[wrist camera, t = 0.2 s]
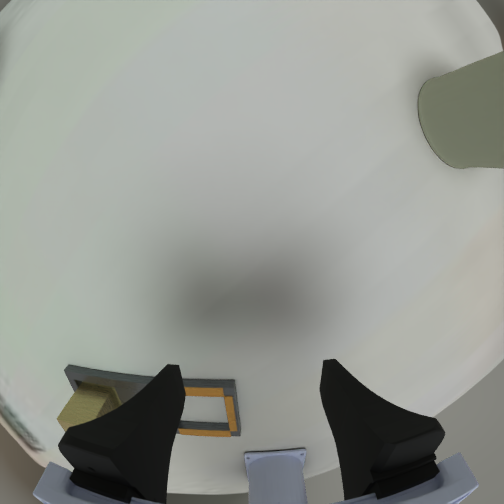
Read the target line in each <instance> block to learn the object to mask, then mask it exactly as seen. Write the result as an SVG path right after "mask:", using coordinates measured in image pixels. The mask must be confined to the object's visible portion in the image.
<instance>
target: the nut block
mask: <svg viewBox="0 0 504 504" xmlns="http://www.w3.org/2000/svg"><path fill="white" fill-rule="evenodd" d="M121 405H122V403H121V401H120V399H119V397H118V395H117V392H116V390H115V388H114V387H110V386H104V385H99V384H94V383H89V382H84V381H83V382H82V383H81V384H80V386H79V387H78V389H77V390H76V391H75V393H74V394H73V396H72V397H71V398H70V400H69V401H68V403H67V404H66V406H65V407H64V409H63V410H62V412H61V413H60V415H59V416H58V418H57V420H58V422H59V423H60V425H61V426H62V428H63V429H64V430H65V432H66V431H67V429H68V428H69V427H72V426H75V425H79V424H82V423H86V422H88V421H91V420H94V419H96V418H98V417H101V416H103V415H105V414H107V413H109V412H110V411H112V410H114V409H116V408H118V407H119V406H121Z"/></svg>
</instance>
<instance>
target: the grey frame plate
mask: <svg viewBox="0 0 504 504" xmlns="http://www.w3.org/2000/svg"><path fill="white" fill-rule="evenodd" d="M64 371H65V374H66V376H67V378H68V380H69V382H70V384H71V386H72V388H73V390H74V392H75V391H76V390H77V389H78V387H79V386H80V384H81V383H82V381H84V382H89V383H94V384H99V385H104V386H110V387H114V388H115V390H116V392H117V395H118V397H119V399H120V401H121V403H122V404H124V403H125V402H127V401H128V400H129V399H131V398H132V397H133V396H135V395H136V394H137V393H138V392H139V391H140V390H142V389H143V388H144V387H145V386H146V385H147V384H148V383H149V382H150V381H151V380H152V379H153V378H154V377H148V376H138V375H129V374H121V373H114V372H107V371H100V370H94V369H89V368H83V367H78V366H73V365H68V366H67V367H66V368H65V369H64ZM182 380H183V384H184V388H185V392H186V396H208V397H224V400H225V406H226V411H227V417H228V423H207V422H189V421H180V422H179V426H178V429H177V432H176V433H178V434H182V435H195V436H214V437H231V436H241V427H240V419H239V412H238V404H237V396H236V388H235V380H197V379H182Z"/></svg>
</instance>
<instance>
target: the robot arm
mask: <svg viewBox="0 0 504 504" xmlns="http://www.w3.org/2000/svg"><path fill="white" fill-rule="evenodd" d="M320 394H321V399H322V404H323V408H324V410H325V413H326V416H327V419H328V422H329V425H330V428H331V430H332V433H333V436H334V439H335V443H336V447H337V452H338V457H339V462H340V468H341V474H342V482H343V490H344V500H345V501H341V502H336V503H331V504H458V503H460V502H461V501H462V500H463V499H464V498H466V497H467V496H468V495H469V494H470V493H471V492H473V491H474V490H475V489H476V488H477V487H478V486H479V483H478V482H477V480H476V478H475V476H474V475H473V473H472V471H471V469H470V468H469V466H468V464H467V463H466V461H465V459H464V458H463V456H462V454H461V453H460V452H458V453H456V454H454V455H453V456H451V457H449V458H447V459H445V460H443V461H442V462H440V463H438V464H437V465H436V463H435V461H434V460H436V456H435V454H434V452H435V450H436V449H437V448H438V446H439V445H440V443H441V442H442V440H443V438H444V436H445V431H444V430H443V428H442V426H441V425H440V423H439V422H438V421H437V419H436V418H432V417H428V416H424V415H420V414H416V413H413V412H411V411H408V410H405V409H403V408H400V407H398V406H396V405H394V404H392V403H390V402H388V401H386V400H385V399H383V398H381V397H380V396H378V395H376V394H375V393H373V392H372V391H371V390H369V389H368V388H367V387H365V386H364V385H363V384H362V383H360V382H359V381H358V380H357V379H356V378H355V377H354V376H352V375H351V374H350V373H349V372H348V371H347V370H346V369H345V368H344V367H343V366H342V365H341V364H340V363H339V362H338V361H337V360H336V359H330V360H323V368H322V375H321V382H320ZM185 396H186V392H185V388H184V384H183V380H182V376H181V372H180V368H179V365H171V364H167V365H166V366H165V367H164V368H163V369H162V370H161V371H160V372H159V373H158V374H157V375H156V376H155V377H154V378H153V379H152V380H151V381H150V382H149V383H148V384H147V385H146V386H145V387H144V388H143V389H142V390H140V391H139V392H138V393H137V394H136V395H135V396H133V397H132V398H131V399H129V400H128V401H127V402H125V403H124V404H122V405H121V406H119V407H118V408H116V409H114V410H112V411H110V412H109V413H107V414H105V415H103V416H101V417H98V418H96V419H94V420H91V421H88V422H86V423H82V424H79V425H75V426H72V427H69V428H68V429H67V431H66V432H65V434H64V436H63V437H62V439H61V441H60V442H59V444H58V447H59V450H60V452H61V453H62V455H63V456H64V457H65V458H66V459H67V460H68V462H69V463H70V464H71V465H72V466H73V467H74V470H73V472H71V471H69V470H68V469H66V468H64V467H62V466H59V465H57V464H55V463H53V462H49V464H48V466H47V467H46V469H45V471H44V473H43V475H42V477H41V479H40V480H39V482H38V484H37V486H36V488H35V490H34V492H33V495H34V496H35V497H36V498H38V499H39V500H40V501H41V502H43V503H44V504H166V496H167V482H168V472H169V464H170V457H171V451H172V446H173V442H174V439H175V435H176V432H177V429H178V426H179V422H180V419H181V416H182V413H183V409H184V403H185ZM305 457H306V449H296V450H286V451H273V452H250V453H245V454H244V458H245V464H246V471H247V477H248V482H249V504H308V502H307V496H306V489H305V483H304V476H303V467H304V462H305Z"/></svg>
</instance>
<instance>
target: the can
mask: <svg viewBox="0 0 504 504" xmlns="http://www.w3.org/2000/svg"><path fill="white" fill-rule="evenodd" d="M418 112H419V118H420V123H421V126H422V129H423V132H424V134H425V137H426V139H427V141H428V143H429V144H430V146H431V148H432V149H433V151H434V152H435V153H436V154H437V156H438V157H439V158H440V159H441V160H443V161H444V162H445V163H446V164H448V165H450V166H452V167H454V168H459V169H464V168H468V167H485V168H503V169H504V51H502V52H500V53H497V54H495V55H492V56H490V57H487V58H484V59H482V60H479V61H477V62H474V63H472V64H469V65H467V66H465V67H462V68H460V69H458V70H455V71H453V72H450V73H448V74H445V75H443V76H440V77H436V78H432V79H430V80H428V81H427V82H426V83H425V84H424V85H423V87H422V89H421V91H420V94H419V99H418Z"/></svg>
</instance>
